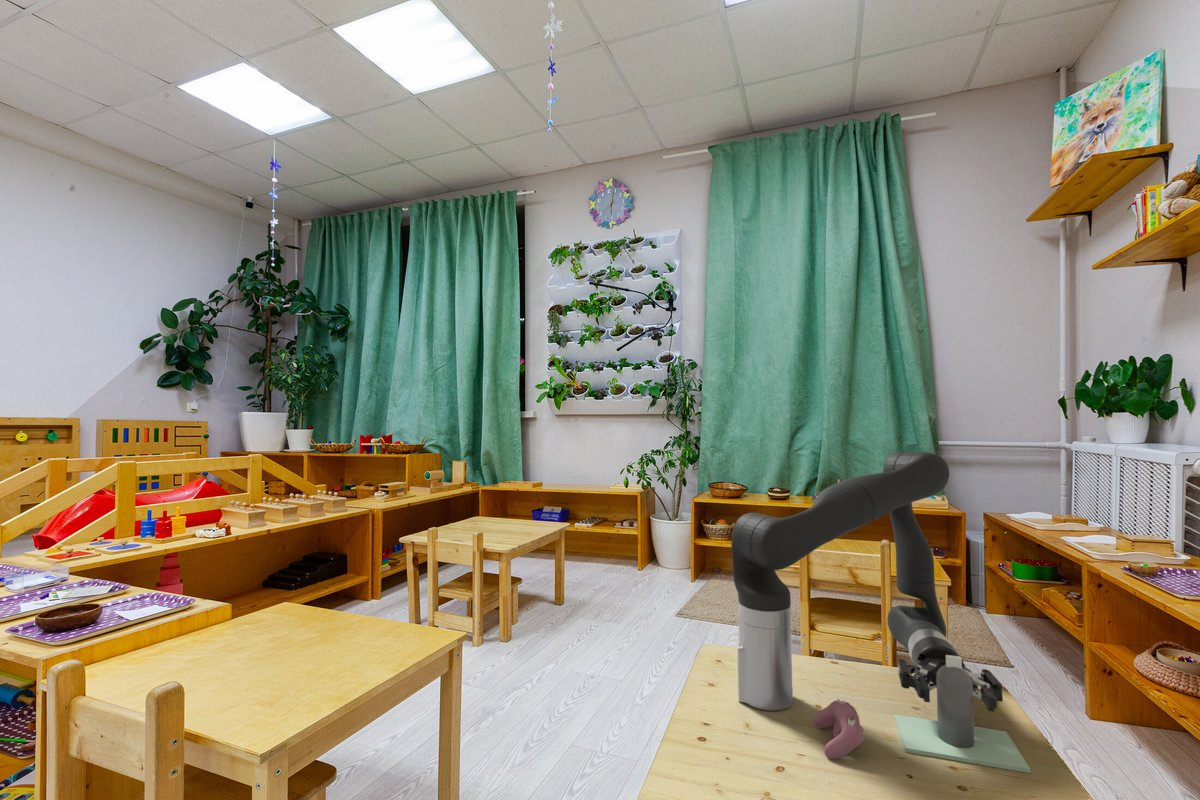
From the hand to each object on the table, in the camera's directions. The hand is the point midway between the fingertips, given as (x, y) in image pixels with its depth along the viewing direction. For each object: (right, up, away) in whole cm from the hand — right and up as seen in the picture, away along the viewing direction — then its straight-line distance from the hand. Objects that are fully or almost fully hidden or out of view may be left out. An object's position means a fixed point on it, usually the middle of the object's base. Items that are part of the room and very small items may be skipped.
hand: (958, 700), depth 86 cm
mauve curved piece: (-18, -8, +2) cm, 20 cm away
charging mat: (+1, -8, +2) cm, 8 cm away
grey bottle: (+1, -7, +2) cm, 7 cm away
